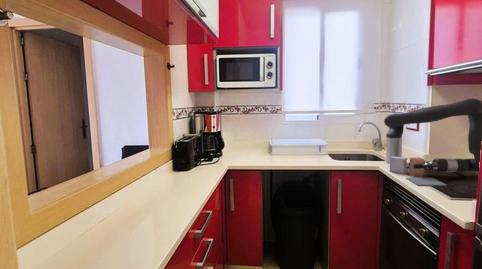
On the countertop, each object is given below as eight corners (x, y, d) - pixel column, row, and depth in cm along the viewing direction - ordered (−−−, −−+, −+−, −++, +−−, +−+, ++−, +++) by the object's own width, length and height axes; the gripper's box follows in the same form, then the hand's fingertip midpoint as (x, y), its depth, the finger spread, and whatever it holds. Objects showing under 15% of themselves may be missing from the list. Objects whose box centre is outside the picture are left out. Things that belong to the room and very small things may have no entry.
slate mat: (406, 178, 149) (406, 177, 149) (432, 178, 147) (432, 177, 147) (417, 185, 136) (417, 184, 136) (446, 185, 134) (446, 184, 134)
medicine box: (406, 172, 161) (407, 157, 160) (404, 173, 159) (404, 159, 158) (392, 170, 167) (392, 156, 166) (389, 171, 164) (389, 157, 164)
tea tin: (409, 174, 156) (409, 157, 155) (418, 174, 155) (419, 157, 154) (413, 177, 151) (413, 159, 150) (423, 177, 150) (423, 159, 149)
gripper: (437, 155, 157) (405, 156, 160) (453, 161, 143) (417, 161, 145) (437, 168, 158) (405, 168, 160) (452, 175, 144) (417, 175, 146)
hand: (411, 165), depth 153 cm, fingers closed on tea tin, 5 cm apart
